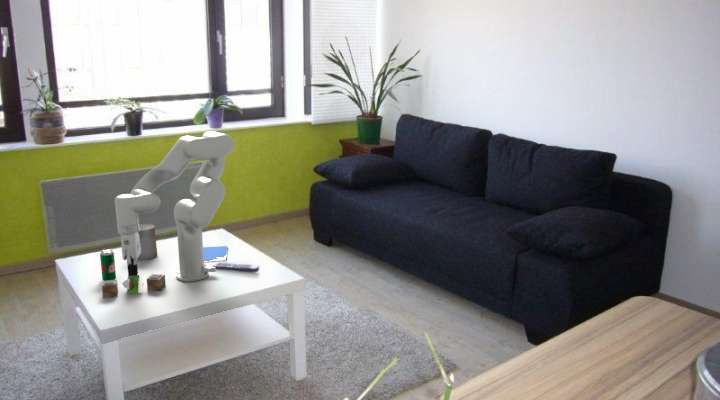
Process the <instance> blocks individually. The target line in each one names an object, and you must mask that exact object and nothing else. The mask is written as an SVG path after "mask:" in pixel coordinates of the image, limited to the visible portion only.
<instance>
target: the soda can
mask: <svg viewBox="0 0 720 400" xmlns="http://www.w3.org/2000/svg"><path fill="white" fill-rule="evenodd" d="M99 258H100V259H99V260H100V267H101V269H100V270H101V277H102V281H108V280H117V273H116V272H117V271H116V262H115V252H114V251H113V250H112V249H111V248H110V249H108V248H107V249H103V250H101V251H100V253H99Z"/></svg>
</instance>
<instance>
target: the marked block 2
mask: <svg viewBox="0 0 720 400" xmlns="http://www.w3.org/2000/svg"><path fill="white" fill-rule="evenodd" d="M166 287H167V286H166V275H165V274H158V273H157V274H155V273H152V274H151V275H149V276H148V277H147V278H146V291H147V292H157V293H158V292H159V293H161V291H163V290H164V289H165V288H166Z"/></svg>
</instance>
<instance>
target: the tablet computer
mask: <svg viewBox="0 0 720 400" xmlns="http://www.w3.org/2000/svg"><path fill="white" fill-rule="evenodd" d="M227 248H228V249H229V247H228V246H227V245H224V246H220V245H219V246H218V245H217V246H203V256H204V261H210V260H213V259H217V258H216V257H224V256H225V255H227V256H228V254H227Z"/></svg>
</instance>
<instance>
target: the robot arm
mask: <svg viewBox="0 0 720 400" xmlns="http://www.w3.org/2000/svg"><path fill="white" fill-rule="evenodd" d="M235 144H236V143H235V140H234V138H233V137H232V136H231V135H230V134H227V133H223V132H218V131H214V130H209V131H206V132H203V134H202V135H201V137H197V136H192V135H184V136H180V137H179V138H178V140H176V142H175V144H174V145H173V146H172V147H171V149H170V150H169V151H168V153H166V155H165V156H164V158H163V159H162V160H161V162H160V163H159V164H158V165H156V166H155V167H154V168H152V169H151V170H150V171H148V172H146V173H145V174H144V175H142V177H141V178H140V179H139V180H138V181H137V182H136V184H135V185H134V187H133V188H132V189H131V191H130V193H122V194H119V195H116V197H115V198H114V207H115V216H116V227H117V234H118V235H120V243H121V253H122V254H121V255H122V259H123V260H124V261H126V265H127V275H129V276H135V275H139V271H138V270H139V267H138V260H137V258H138V257H139V255H140V253H141V246H140V239H139V233H138V232H139V231H140V229H139V224H140V219H139V214H143V213H144V214H147V213H149V214H150V213H154V212H156V211H158V209H159V208H160V206H161V198H160V196H158V195H157V194H156V193H155V191H156V190H157V189H158V188H159V187H161V186H162V185H165V183H168V182H171V181H174V180H176V179H179V178H180V176H181V175H182V174H183V172H184V171H185V169H186V168H187V167H188V166H189V164H190V163H191V162H192V160H195V161H202V164H201V166H200V168H199V170H198V172H197V173H196V175H195V177H194V178H193V180H192V182H191V184H190V186H189V192H190V194H191V195H192V196H193V197H194V198H195V199H196V198H197V200H194V199H190V198H184V199H181V200H178V201H177V203H176V204H175V205H174V208H173V218H174V221H175V225H176V226H175V227H176V232H177V234H176V235H177V246H178V248H177V249H178V250H177V251H178V264H179V271H178V272H177V273H175V278H176V279H177V280H178V281H181V282H197V281H201V279H202V280H204V279H206V278H208V276H209V273H216V269H217V268H216V266H213V265H207V264H206V262H204V256H203V247H204V244H203V243H204V242H203V229H204V228H205V227H208V225H210V223H211V222H212V221H213V219H214V217H215V215H216V213H217V211H218V210H219V209H220V206H221V204H222V203H223V200H224V199H225V195H226V187H225V185H224V183H223V182H222V181H221V180H220V178H221V176H222V174H223V172H224V170H225V166H226V158H225V157H226V156H228V155H230V154H232V152H233V151H234V149H235Z"/></svg>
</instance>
